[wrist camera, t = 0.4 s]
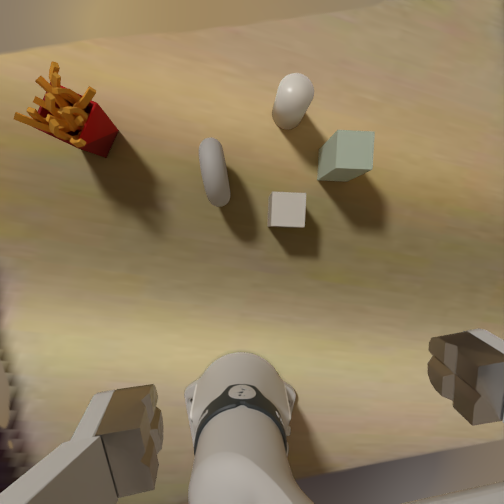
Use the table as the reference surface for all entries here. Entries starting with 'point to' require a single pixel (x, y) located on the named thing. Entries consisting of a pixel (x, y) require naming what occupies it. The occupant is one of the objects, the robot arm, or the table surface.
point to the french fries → (71, 116)
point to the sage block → (346, 155)
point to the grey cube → (286, 209)
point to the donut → (214, 172)
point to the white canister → (292, 100)
